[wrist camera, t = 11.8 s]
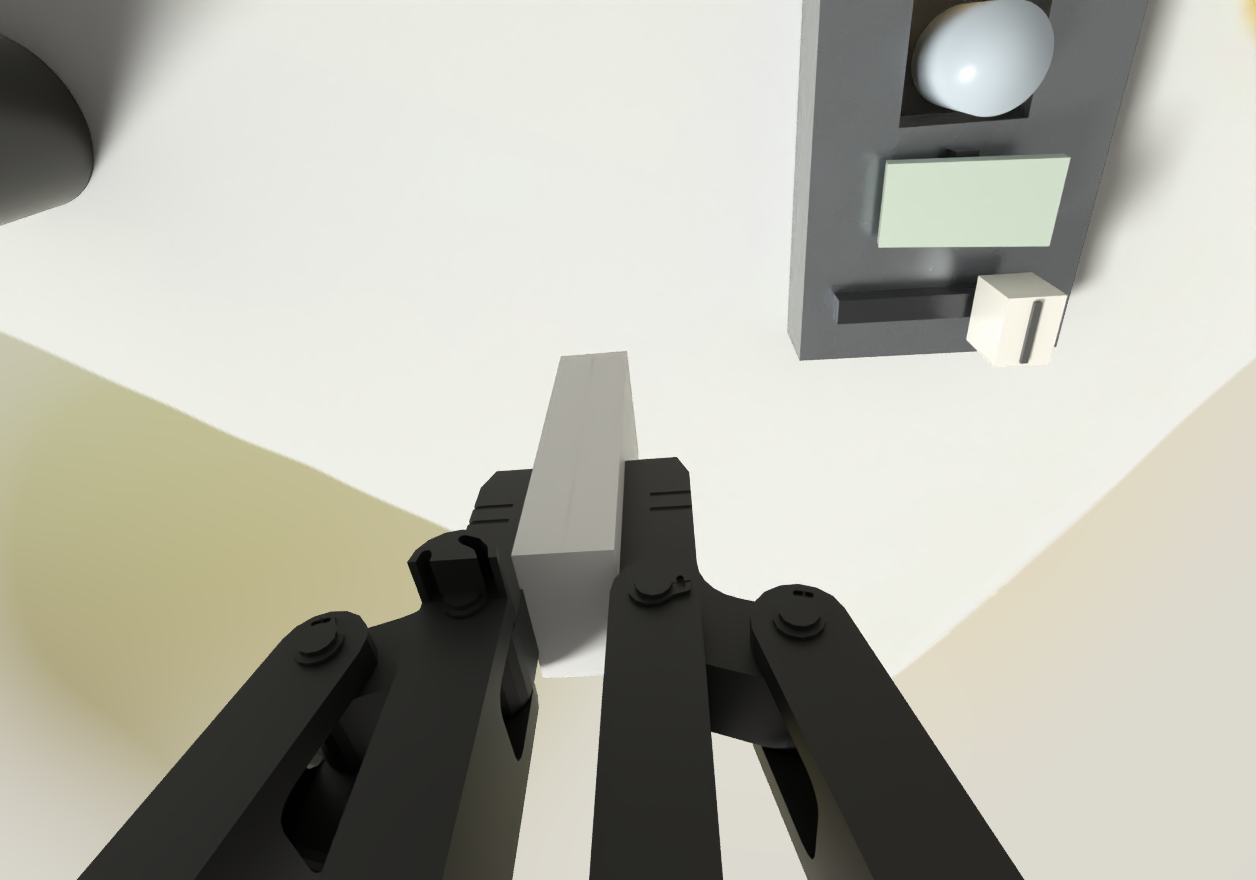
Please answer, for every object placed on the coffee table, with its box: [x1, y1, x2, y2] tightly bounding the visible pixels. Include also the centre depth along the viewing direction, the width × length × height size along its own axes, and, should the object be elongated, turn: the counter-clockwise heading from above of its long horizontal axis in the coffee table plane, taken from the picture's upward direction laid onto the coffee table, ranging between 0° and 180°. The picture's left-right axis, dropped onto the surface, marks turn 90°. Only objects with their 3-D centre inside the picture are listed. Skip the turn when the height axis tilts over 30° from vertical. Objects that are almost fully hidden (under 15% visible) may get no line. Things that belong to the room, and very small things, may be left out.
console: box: [788, 0, 1148, 361], centre depth 31 cm, size 22×13×5 cm, turn 4°
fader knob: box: [966, 272, 1068, 367], centre depth 31 cm, size 3×2×3 cm
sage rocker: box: [877, 153, 1071, 248], centre depth 30 cm, size 4×7×1 cm, turn 94°
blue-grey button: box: [911, 0, 1054, 117], centre depth 28 cm, size 4×4×4 cm
